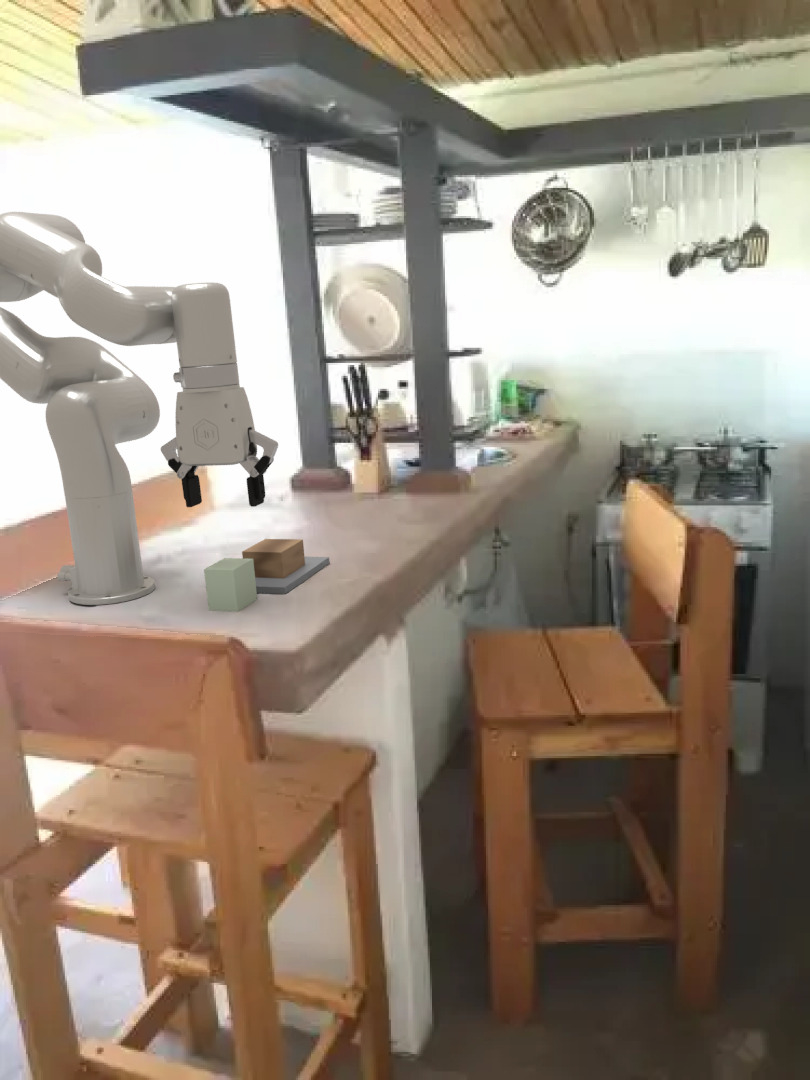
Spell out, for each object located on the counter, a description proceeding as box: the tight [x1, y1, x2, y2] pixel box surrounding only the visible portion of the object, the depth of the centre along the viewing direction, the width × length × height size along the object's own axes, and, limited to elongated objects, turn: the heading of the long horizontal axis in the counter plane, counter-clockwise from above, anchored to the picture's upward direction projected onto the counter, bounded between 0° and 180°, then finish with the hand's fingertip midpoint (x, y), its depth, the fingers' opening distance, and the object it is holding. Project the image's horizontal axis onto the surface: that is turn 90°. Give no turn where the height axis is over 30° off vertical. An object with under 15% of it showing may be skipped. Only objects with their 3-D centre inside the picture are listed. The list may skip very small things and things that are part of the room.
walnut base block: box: [241, 538, 306, 578], centre depth 144 cm, size 6×8×4 cm
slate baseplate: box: [255, 556, 330, 595], centre depth 145 cm, size 11×17×1 cm, turn 162°
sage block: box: [203, 557, 258, 613], centre depth 131 cm, size 4×6×6 cm
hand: (225, 504), depth 129 cm, fingers open, 9 cm apart
